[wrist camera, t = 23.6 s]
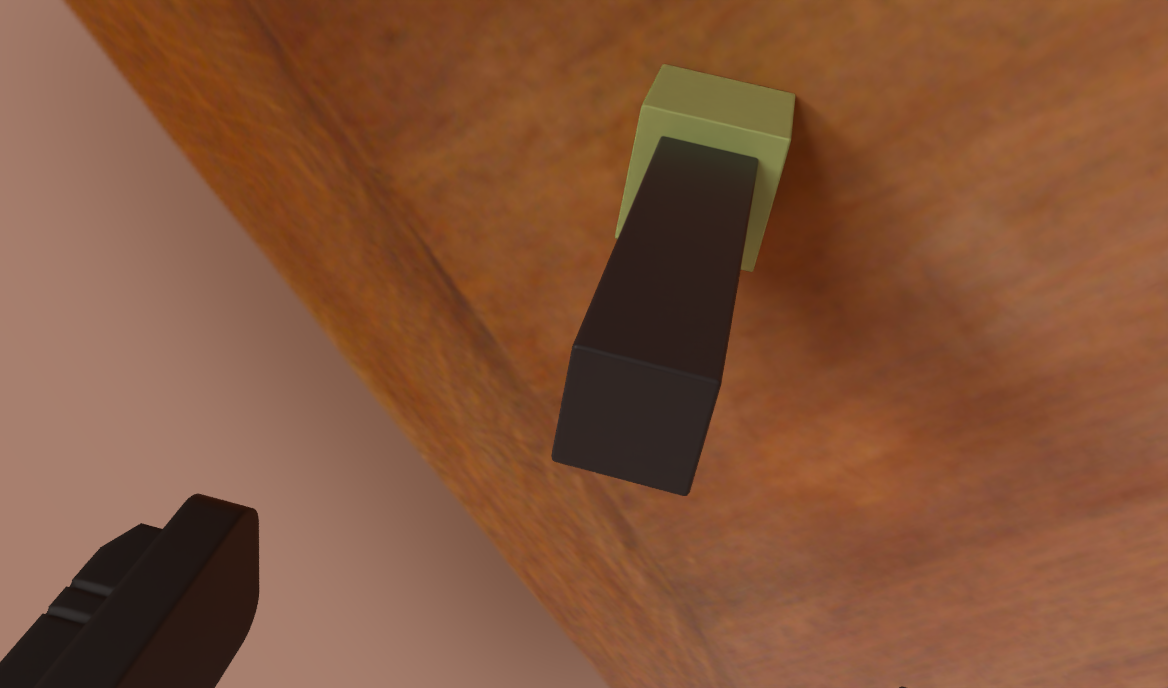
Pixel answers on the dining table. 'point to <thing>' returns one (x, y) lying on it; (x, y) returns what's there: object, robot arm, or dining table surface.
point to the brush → (673, 278)
